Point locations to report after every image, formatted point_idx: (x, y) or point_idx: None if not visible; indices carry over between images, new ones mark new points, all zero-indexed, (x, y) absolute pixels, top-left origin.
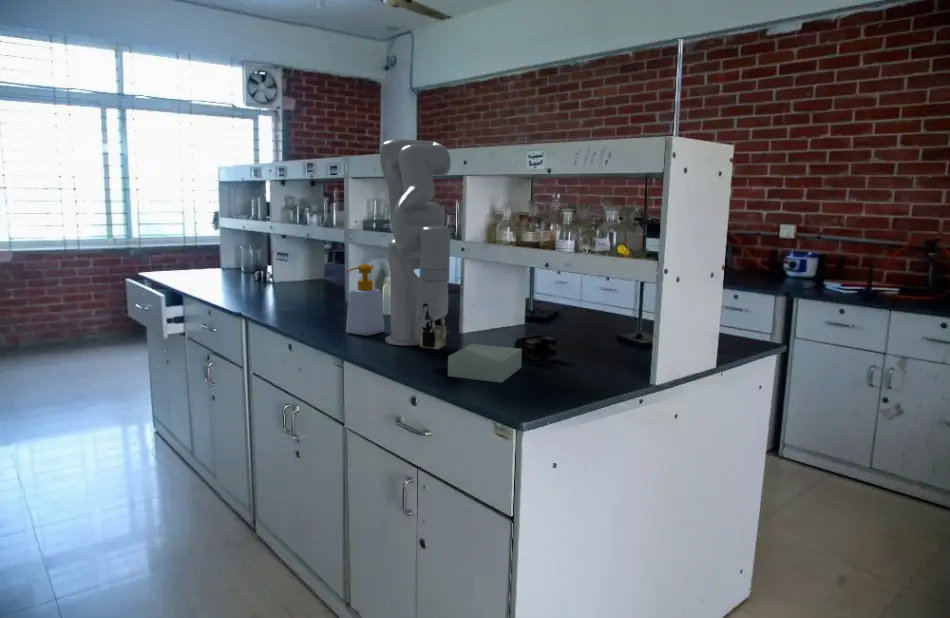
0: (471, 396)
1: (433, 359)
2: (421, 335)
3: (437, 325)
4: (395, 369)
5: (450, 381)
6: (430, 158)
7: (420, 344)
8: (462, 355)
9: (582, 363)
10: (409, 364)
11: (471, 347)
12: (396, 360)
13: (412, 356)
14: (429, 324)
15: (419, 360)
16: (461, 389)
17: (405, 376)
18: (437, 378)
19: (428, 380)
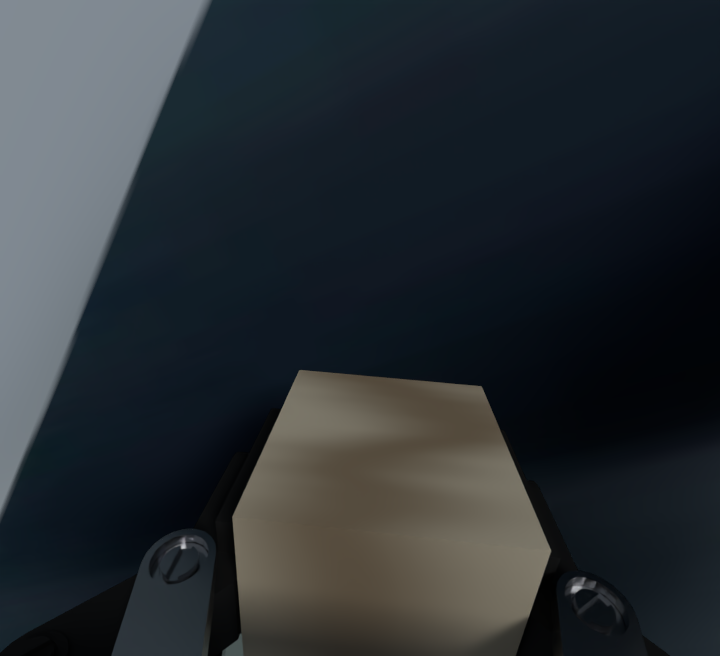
0: (11, 621)
1: (555, 317)
2: (267, 451)
3: (500, 653)
4: (199, 179)
5: (142, 522)
6: None
7: (295, 382)
8: (232, 645)
9: None
10: (366, 215)
11: None
12: (451, 58)
13: (622, 132)
14: (536, 561)
15: (502, 238)
16: (64, 580)
17: (92, 307)
18: (154, 463)
19: (98, 438)
